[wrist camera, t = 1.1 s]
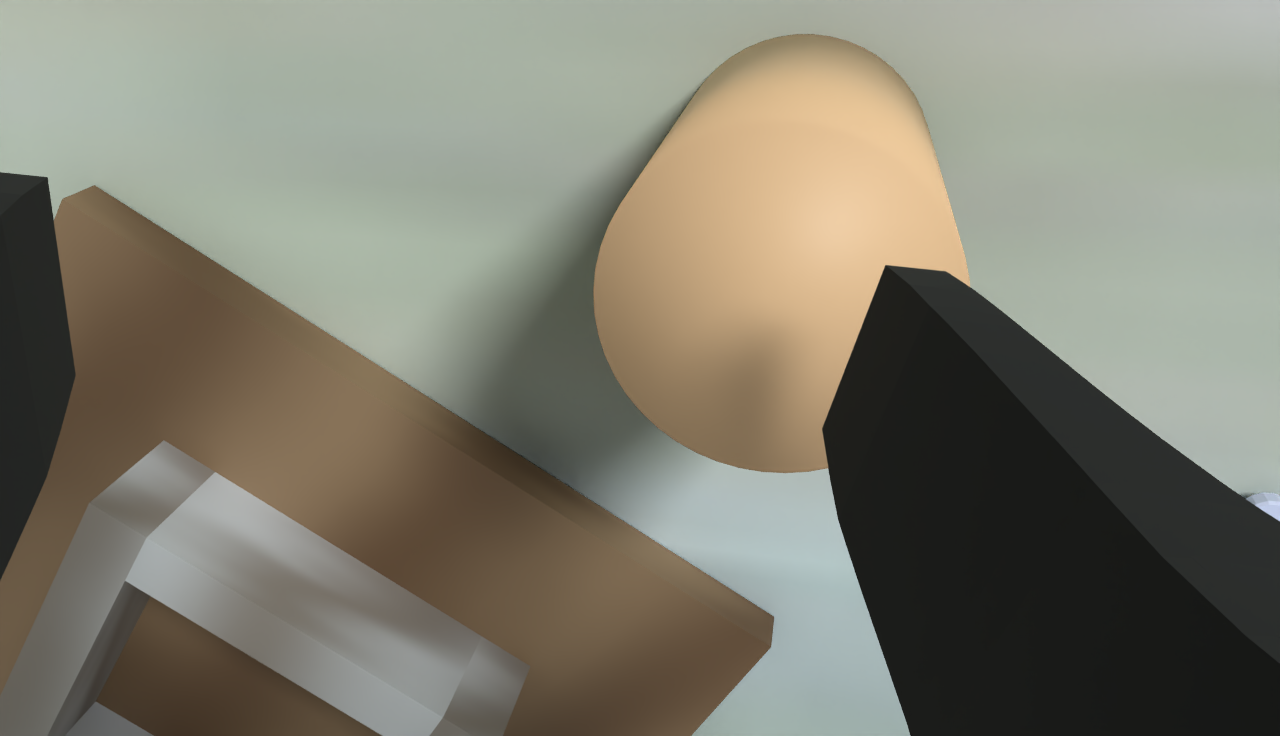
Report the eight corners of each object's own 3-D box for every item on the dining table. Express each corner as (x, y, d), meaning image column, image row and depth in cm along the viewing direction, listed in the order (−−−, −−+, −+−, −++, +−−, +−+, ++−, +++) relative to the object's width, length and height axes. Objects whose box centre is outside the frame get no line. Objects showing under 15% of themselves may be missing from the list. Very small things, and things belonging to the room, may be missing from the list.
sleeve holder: (774, 616, 23) (762, 734, 20) (429, 1005, 30) (380, 1138, 27) (94, 185, 22) (-32, 238, 19) (-107, 693, 29) (-225, 795, 26)
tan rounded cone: (986, 131, 19) (1054, 266, 13) (829, 330, 21) (820, 534, 14) (768, -20, 19) (725, 40, 12) (628, 197, 20) (527, 345, 14)
